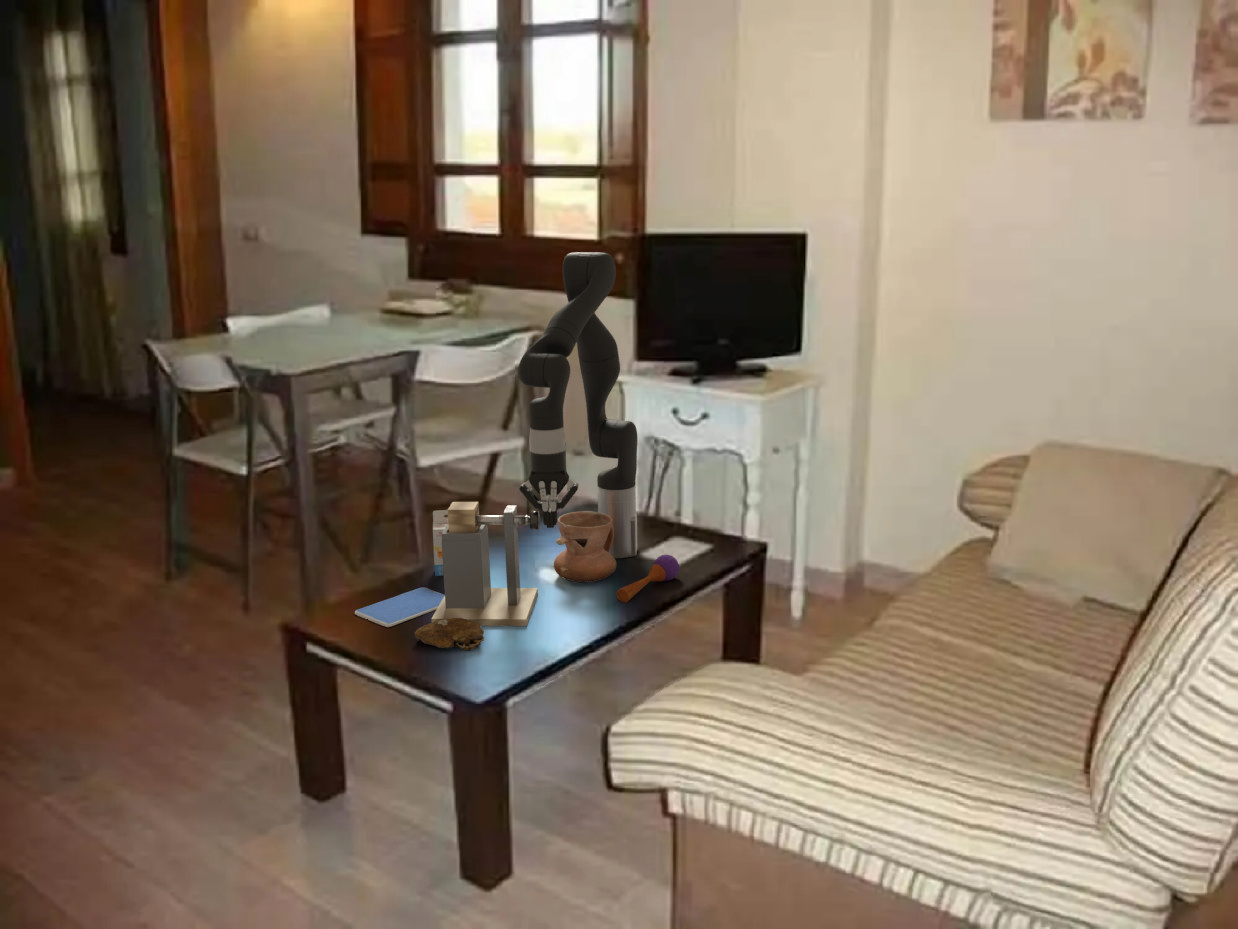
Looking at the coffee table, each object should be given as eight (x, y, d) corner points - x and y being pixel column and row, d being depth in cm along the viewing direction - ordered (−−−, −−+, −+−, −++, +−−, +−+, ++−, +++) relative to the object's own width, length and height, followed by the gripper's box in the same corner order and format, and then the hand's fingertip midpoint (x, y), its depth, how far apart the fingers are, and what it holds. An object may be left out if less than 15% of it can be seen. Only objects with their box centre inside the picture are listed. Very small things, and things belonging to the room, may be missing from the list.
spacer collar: (479, 530, 257) (478, 501, 255) (475, 538, 252) (473, 509, 250) (454, 530, 257) (452, 501, 256) (449, 538, 252) (447, 509, 250)
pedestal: (491, 594, 262) (487, 521, 258) (484, 608, 254) (480, 533, 250) (453, 593, 263) (449, 521, 259) (445, 608, 255) (441, 533, 250)
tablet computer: (423, 590, 271) (422, 585, 271) (459, 603, 263) (459, 598, 263) (353, 616, 257) (352, 610, 257) (389, 630, 249) (388, 625, 249)
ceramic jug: (581, 594, 265) (581, 533, 262) (537, 578, 275) (536, 520, 271) (635, 574, 278) (636, 515, 274) (591, 559, 288) (591, 503, 284)
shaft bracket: (520, 597, 260) (516, 505, 255) (517, 605, 255) (512, 512, 250) (511, 597, 260) (507, 505, 255) (508, 605, 256) (503, 512, 250)
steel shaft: (540, 526, 255) (539, 508, 254) (537, 532, 251) (536, 514, 250) (449, 526, 256) (448, 508, 255) (446, 531, 253) (444, 513, 252)
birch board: (537, 594, 266) (537, 588, 265) (526, 626, 248) (526, 619, 248) (449, 593, 267) (449, 587, 267) (431, 625, 250) (431, 618, 249)
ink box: (435, 577, 278) (431, 516, 274) (435, 569, 283) (431, 510, 279) (471, 574, 279) (468, 514, 275) (471, 567, 284) (468, 508, 280)
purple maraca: (608, 583, 261) (660, 550, 276) (614, 608, 262) (665, 574, 277) (630, 583, 257) (681, 551, 272) (636, 609, 259) (686, 575, 274)
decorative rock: (500, 640, 243) (440, 630, 250) (499, 620, 243) (439, 611, 249) (469, 658, 234) (407, 647, 240) (468, 638, 233) (406, 628, 240)
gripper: (513, 452, 245) (517, 532, 250) (577, 452, 244) (579, 532, 249) (518, 443, 252) (522, 521, 257) (580, 443, 251) (583, 521, 256)
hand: (550, 526), depth 253 cm, fingers closed
